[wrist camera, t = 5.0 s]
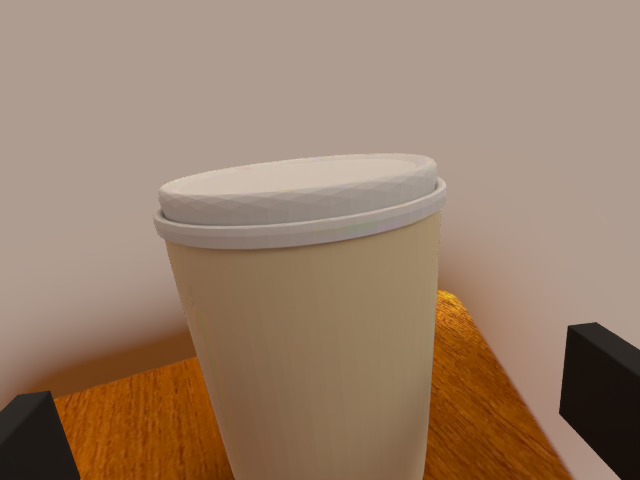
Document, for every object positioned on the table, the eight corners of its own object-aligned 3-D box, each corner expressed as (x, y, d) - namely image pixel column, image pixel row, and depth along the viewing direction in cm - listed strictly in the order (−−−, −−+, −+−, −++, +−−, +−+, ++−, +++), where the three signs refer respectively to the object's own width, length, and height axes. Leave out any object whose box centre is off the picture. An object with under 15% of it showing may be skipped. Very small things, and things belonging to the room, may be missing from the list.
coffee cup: (379, 366, 22) (366, 149, 18) (503, 514, 13) (522, 159, 10) (209, 416, 19) (158, 174, 16) (228, 641, 11) (124, 218, 7)
